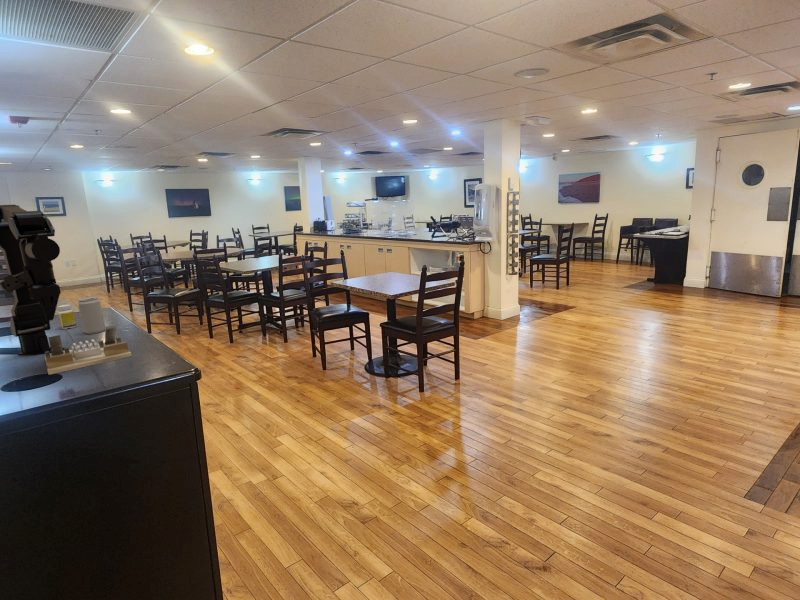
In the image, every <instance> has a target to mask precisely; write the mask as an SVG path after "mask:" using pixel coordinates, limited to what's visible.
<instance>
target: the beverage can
mask: <svg viewBox="0 0 800 600" xmlns="http://www.w3.org/2000/svg"><path fill="white" fill-rule="evenodd" d="M77 306H78V309H79V310H78V311H79V315H80V320H81V325H82V330H83V333H85V334H86V335H93V334H98V333H99V334H100V333H102V332H105V327H106V324H105V319H104V315H103V309H102V306H101V300H100V299H99V297H98V296H91V297H84V298H80V299H78V303H77Z"/></svg>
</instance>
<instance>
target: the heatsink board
mask: <svg viewBox="0 0 800 600" xmlns="http://www.w3.org/2000/svg"><path fill="white" fill-rule="evenodd" d="M115 341H116V343H115V344H110V345H105V343H104V340H98V342H97V341H96V340H95V339H93V338H92V339H91V342H89V340H85V343H84V342H82V341H79V342H78V344H76V343H77V342H74V343H72V345H71V349H70V348H69V347H68V346H67V347H63V352H64V354H62V355H57V356H52V355H51V353H50V351H49V350H47V351H45V352H44V356H43V357H44V360H45V364H46V370H47V373H48V376H49V375H54V374H57V373H64V372H66V371H67V372H68V371H72V370H76V369H80V368H85V367H90V366H94V365H99V364H103V363H107V362H111V361H116V360H121V359H125V358H130V357H132V352H131V351H130V350H129V346H128V342H127V341H122V338H121V337H120V336H117V337H116V338H115Z"/></svg>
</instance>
